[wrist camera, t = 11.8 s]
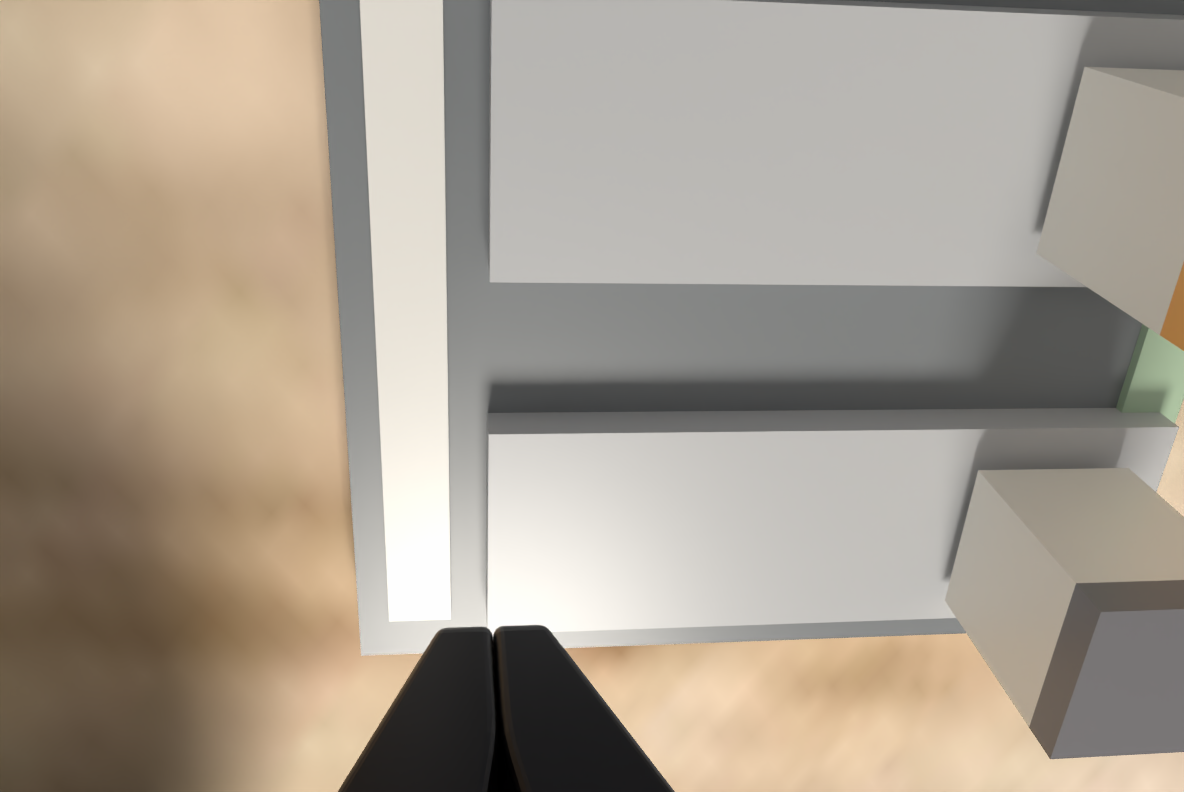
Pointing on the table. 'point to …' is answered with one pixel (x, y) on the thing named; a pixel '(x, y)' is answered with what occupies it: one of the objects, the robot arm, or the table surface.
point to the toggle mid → (1124, 195)
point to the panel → (712, 305)
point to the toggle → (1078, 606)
